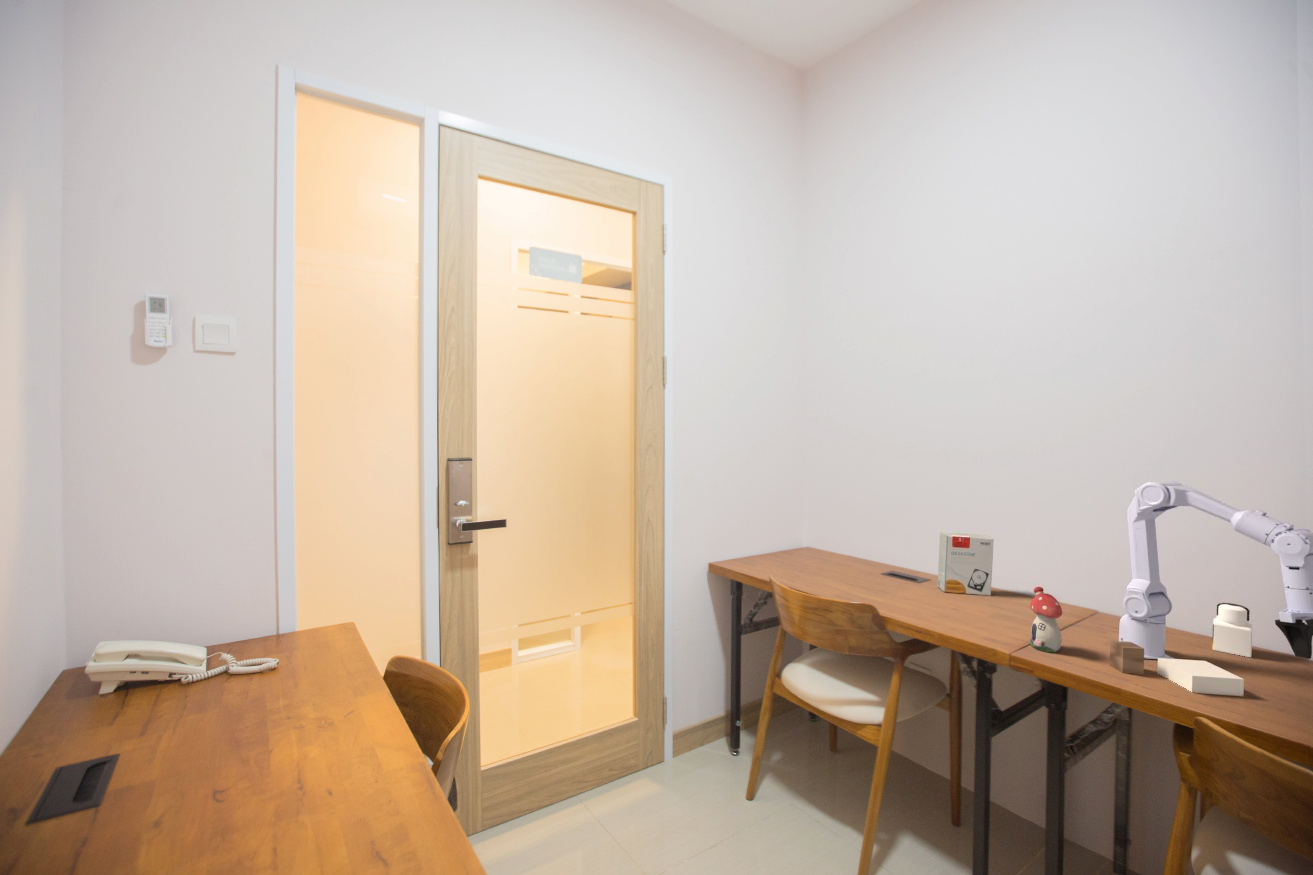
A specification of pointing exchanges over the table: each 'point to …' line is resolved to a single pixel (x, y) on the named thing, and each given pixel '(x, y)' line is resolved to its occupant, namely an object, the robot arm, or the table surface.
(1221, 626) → the medicine bottle
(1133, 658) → the walnut block
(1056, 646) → the decorative ornament
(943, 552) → the hard drive box
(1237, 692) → the ceramic base
